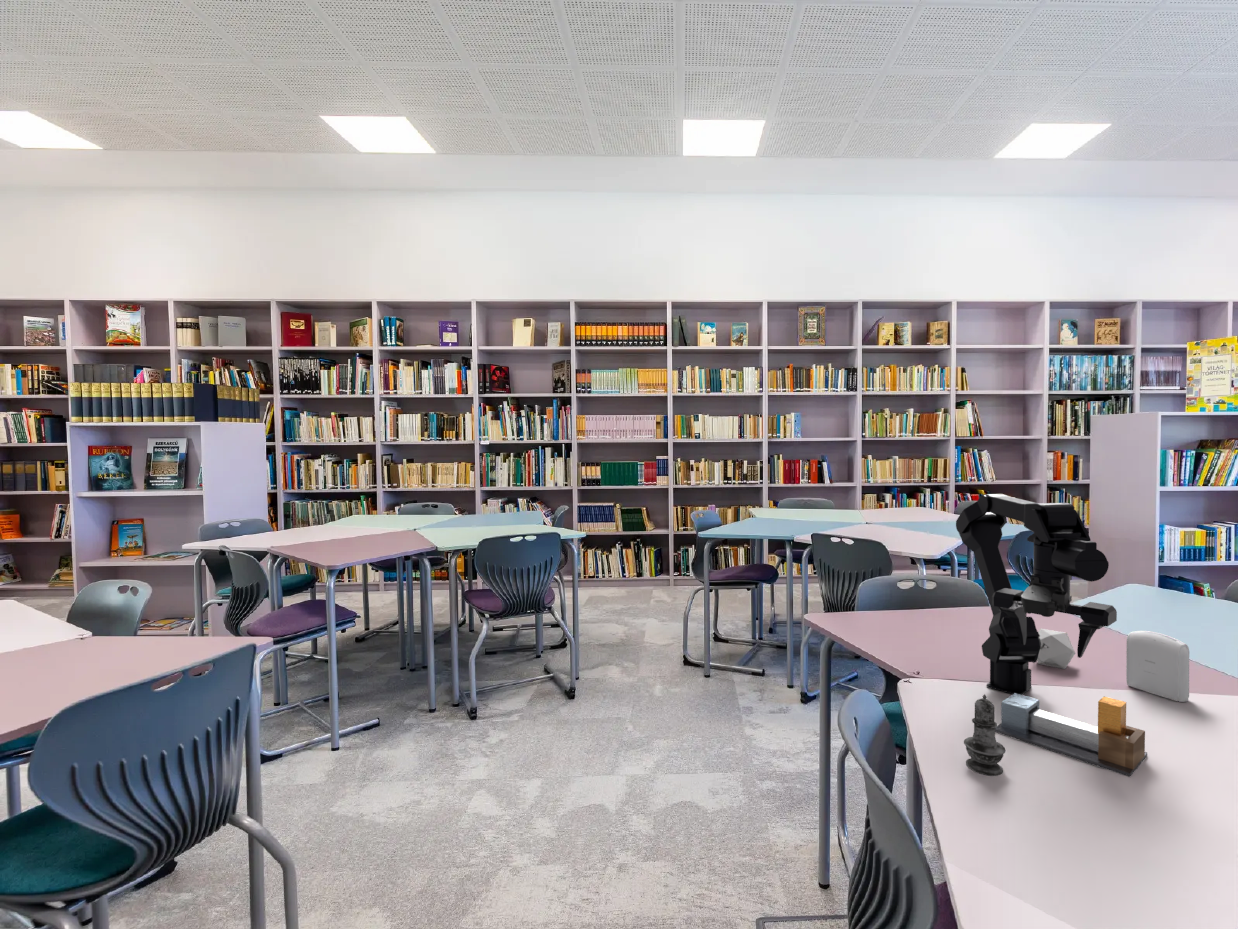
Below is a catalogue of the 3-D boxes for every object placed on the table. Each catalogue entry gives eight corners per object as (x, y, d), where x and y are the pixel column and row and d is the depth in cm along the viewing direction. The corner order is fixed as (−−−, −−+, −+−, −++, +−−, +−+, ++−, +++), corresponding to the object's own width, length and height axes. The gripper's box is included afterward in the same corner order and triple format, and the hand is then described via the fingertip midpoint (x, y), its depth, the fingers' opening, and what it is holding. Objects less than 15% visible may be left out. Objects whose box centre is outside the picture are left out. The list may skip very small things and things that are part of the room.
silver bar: (1007, 722, 113) (1007, 677, 113) (1014, 718, 115) (1014, 673, 115) (1123, 760, 100) (1124, 708, 100) (1129, 754, 102) (1130, 703, 101)
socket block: (1098, 758, 101) (1098, 733, 101) (1110, 745, 105) (1111, 721, 105) (1133, 769, 98) (1133, 743, 97) (1144, 756, 102) (1145, 730, 101)
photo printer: (1121, 685, 131) (1122, 627, 131) (1135, 682, 133) (1136, 625, 132) (1179, 704, 121) (1181, 642, 121) (1193, 701, 123) (1194, 639, 122)
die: (1024, 659, 149) (1020, 634, 144) (1052, 640, 149) (1049, 614, 145) (1055, 683, 142) (1052, 657, 137) (1085, 663, 142) (1083, 636, 138)
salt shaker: (1000, 760, 102) (1000, 689, 102) (1010, 779, 97) (1010, 704, 96) (960, 755, 104) (960, 685, 104) (967, 773, 98) (967, 699, 98)
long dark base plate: (993, 731, 112) (994, 704, 112) (1015, 715, 118) (1016, 689, 118) (1129, 777, 97) (1130, 745, 96) (1147, 756, 103) (1147, 726, 102)
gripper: (979, 567, 119) (979, 647, 120) (1098, 584, 104) (1097, 675, 105) (1003, 559, 126) (1003, 635, 127) (1118, 574, 111) (1116, 660, 112)
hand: (1050, 650), depth 117 cm, fingers open, 9 cm apart
